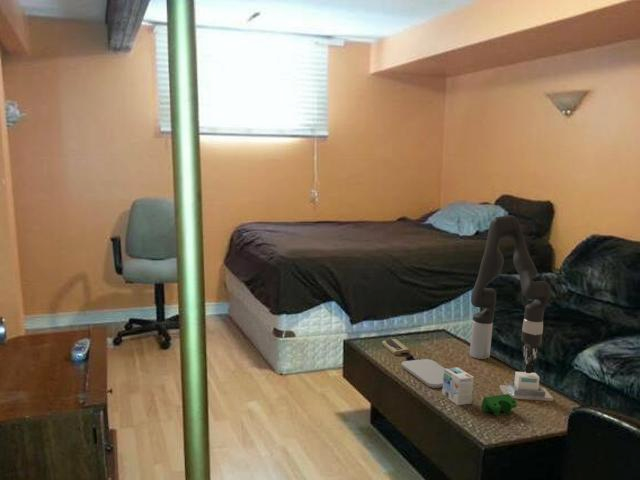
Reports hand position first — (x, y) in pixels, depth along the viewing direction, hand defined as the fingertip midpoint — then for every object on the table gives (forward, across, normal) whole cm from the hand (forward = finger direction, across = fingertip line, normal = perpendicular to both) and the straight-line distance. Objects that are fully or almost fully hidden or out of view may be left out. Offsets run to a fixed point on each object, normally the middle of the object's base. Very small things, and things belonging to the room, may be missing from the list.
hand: (527, 372), depth 221 cm
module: (+8, 0, 0) cm, 8 cm away
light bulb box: (+10, +9, -29) cm, 32 cm away
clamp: (+10, +19, -15) cm, 26 cm away
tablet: (+10, -14, -36) cm, 40 cm away
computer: (+10, -44, -49) cm, 67 cm away
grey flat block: (+9, 0, 0) cm, 9 cm away
